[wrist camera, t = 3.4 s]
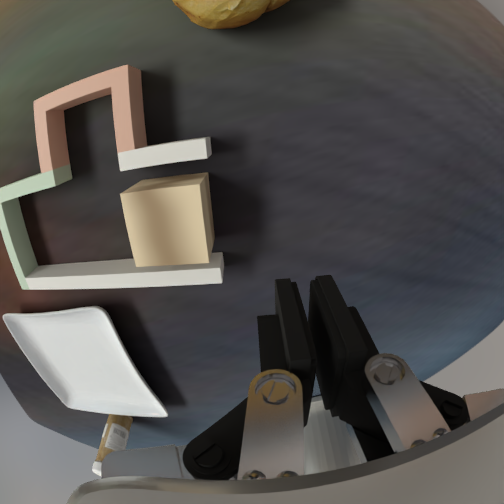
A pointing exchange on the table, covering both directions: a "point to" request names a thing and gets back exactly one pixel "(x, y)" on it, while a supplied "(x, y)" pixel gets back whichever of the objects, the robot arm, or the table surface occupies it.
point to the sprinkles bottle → (113, 438)
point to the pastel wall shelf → (59, 171)
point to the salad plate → (84, 361)
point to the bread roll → (226, 11)
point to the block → (170, 220)
